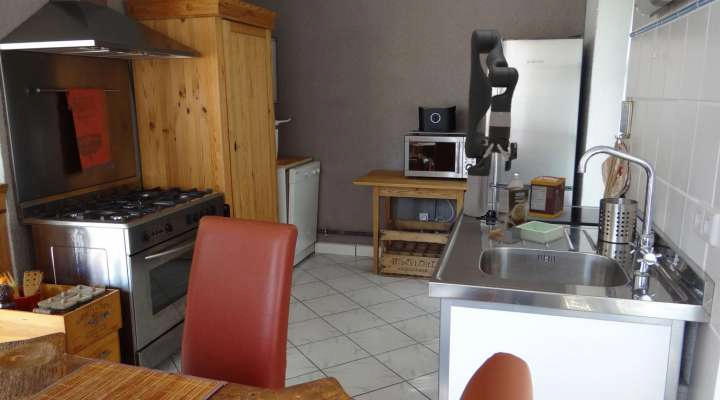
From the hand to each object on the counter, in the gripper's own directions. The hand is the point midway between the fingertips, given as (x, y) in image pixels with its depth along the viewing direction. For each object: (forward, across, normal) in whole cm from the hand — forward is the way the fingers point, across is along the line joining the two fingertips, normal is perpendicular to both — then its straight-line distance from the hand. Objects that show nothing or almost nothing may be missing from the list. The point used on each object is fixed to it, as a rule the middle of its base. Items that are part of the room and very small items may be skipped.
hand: (496, 169), depth 193 cm
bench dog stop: (+23, +12, -6) cm, 27 cm away
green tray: (+23, +15, +6) cm, 28 cm away
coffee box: (+24, +3, +8) cm, 25 cm away
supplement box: (+24, -3, +43) cm, 50 cm away
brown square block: (+24, +8, -6) cm, 26 cm away
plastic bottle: (+24, -3, +18) cm, 30 cm away
